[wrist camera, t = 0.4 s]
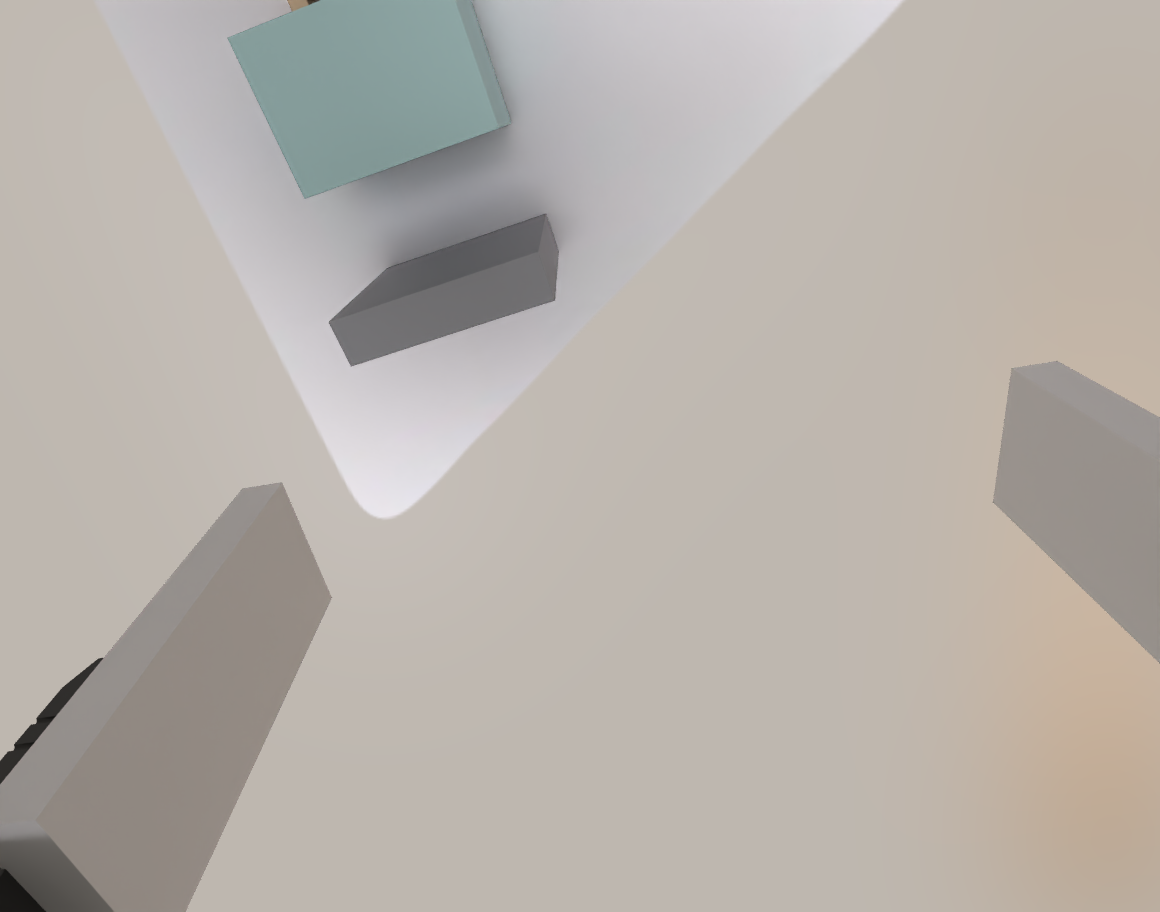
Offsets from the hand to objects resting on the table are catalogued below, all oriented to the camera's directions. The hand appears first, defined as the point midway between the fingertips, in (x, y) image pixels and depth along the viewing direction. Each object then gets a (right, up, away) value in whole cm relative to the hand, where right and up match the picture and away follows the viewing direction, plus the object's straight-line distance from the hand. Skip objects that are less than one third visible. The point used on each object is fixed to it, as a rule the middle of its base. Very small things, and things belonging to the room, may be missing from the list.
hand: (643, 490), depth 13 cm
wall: (-7, +11, +24) cm, 27 cm away
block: (-10, +18, +20) cm, 29 cm away
